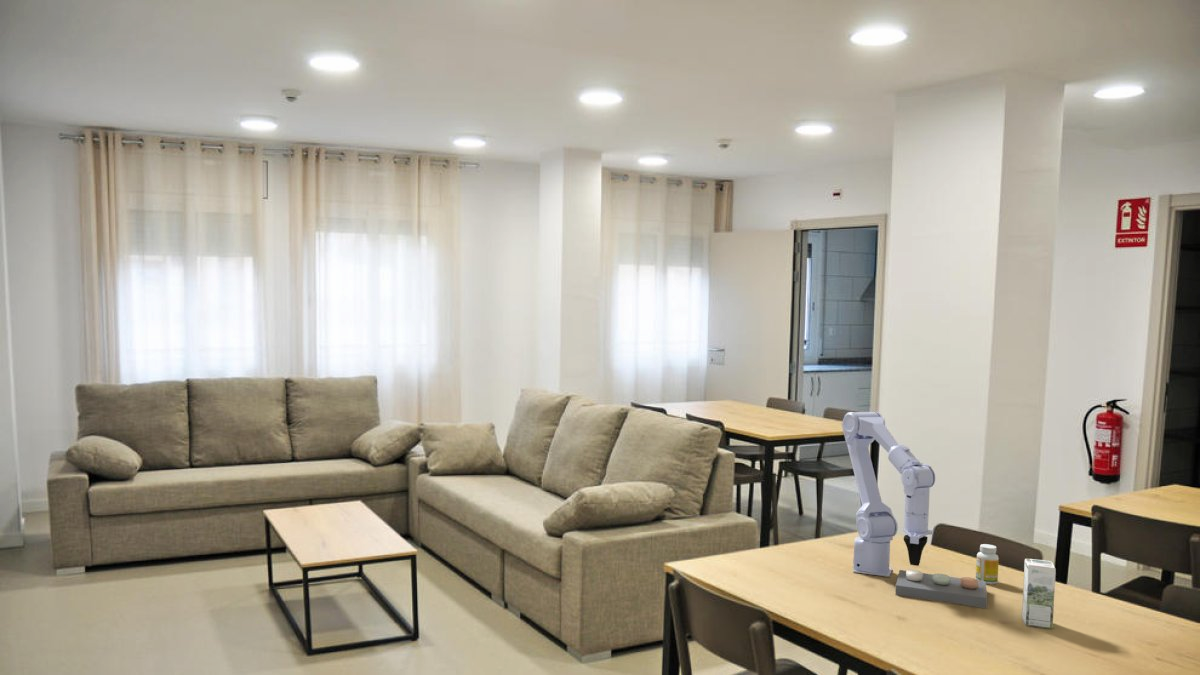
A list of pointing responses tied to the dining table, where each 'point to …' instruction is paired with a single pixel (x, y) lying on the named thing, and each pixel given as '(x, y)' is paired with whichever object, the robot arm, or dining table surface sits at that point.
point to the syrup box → (1038, 593)
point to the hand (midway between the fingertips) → (914, 564)
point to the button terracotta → (969, 583)
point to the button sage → (941, 579)
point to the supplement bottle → (987, 564)
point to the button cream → (914, 575)
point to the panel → (942, 590)
